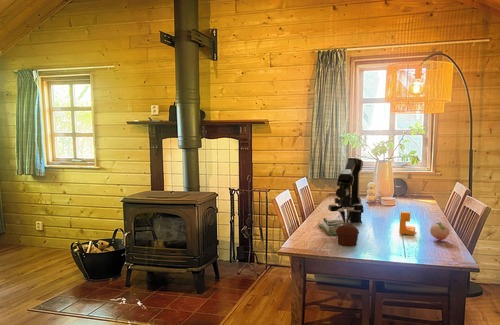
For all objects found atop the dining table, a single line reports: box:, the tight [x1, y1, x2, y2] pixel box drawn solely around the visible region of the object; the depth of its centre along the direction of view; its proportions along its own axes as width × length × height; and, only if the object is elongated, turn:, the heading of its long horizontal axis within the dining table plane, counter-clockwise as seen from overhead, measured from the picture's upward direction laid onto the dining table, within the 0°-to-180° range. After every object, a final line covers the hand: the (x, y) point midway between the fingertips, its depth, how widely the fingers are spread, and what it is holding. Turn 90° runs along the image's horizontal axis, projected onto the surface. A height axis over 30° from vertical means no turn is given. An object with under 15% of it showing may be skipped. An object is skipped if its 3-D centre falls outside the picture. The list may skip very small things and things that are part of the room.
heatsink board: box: [318, 217, 353, 237], centre depth 218 cm, size 16×23×6 cm
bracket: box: [398, 211, 416, 236], centre depth 210 cm, size 11×7×12 cm, turn 151°
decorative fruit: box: [429, 221, 451, 242], centre depth 194 cm, size 9×8×10 cm
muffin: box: [336, 224, 360, 248], centre depth 191 cm, size 12×11×10 cm
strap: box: [327, 221, 351, 226], centre depth 213 cm, size 13×3×1 cm, turn 93°
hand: (345, 222), depth 213 cm, fingers closed, pressing on strap
